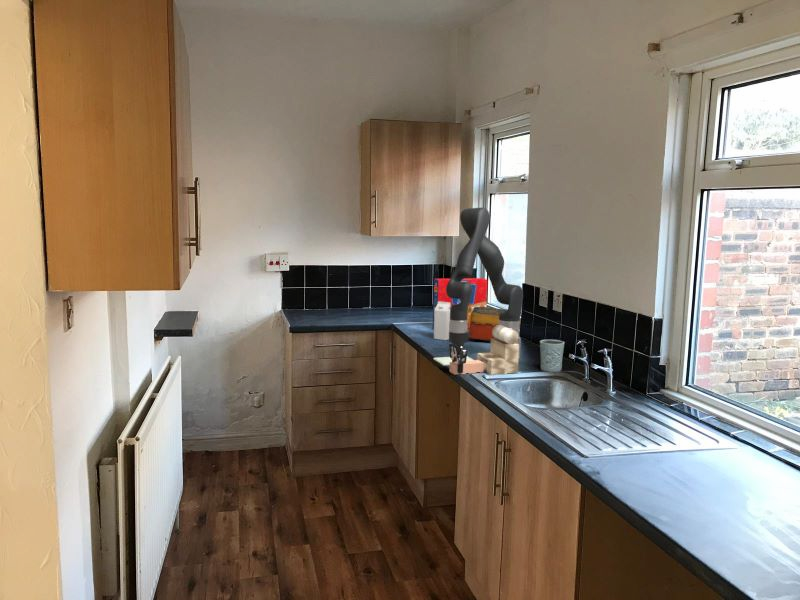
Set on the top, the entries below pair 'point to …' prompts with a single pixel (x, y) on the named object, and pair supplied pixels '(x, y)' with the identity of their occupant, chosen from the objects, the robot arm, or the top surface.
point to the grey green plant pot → (551, 355)
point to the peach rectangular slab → (467, 367)
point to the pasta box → (476, 299)
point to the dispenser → (501, 352)
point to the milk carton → (442, 320)
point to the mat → (448, 360)
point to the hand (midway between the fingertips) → (457, 371)
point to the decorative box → (483, 323)
